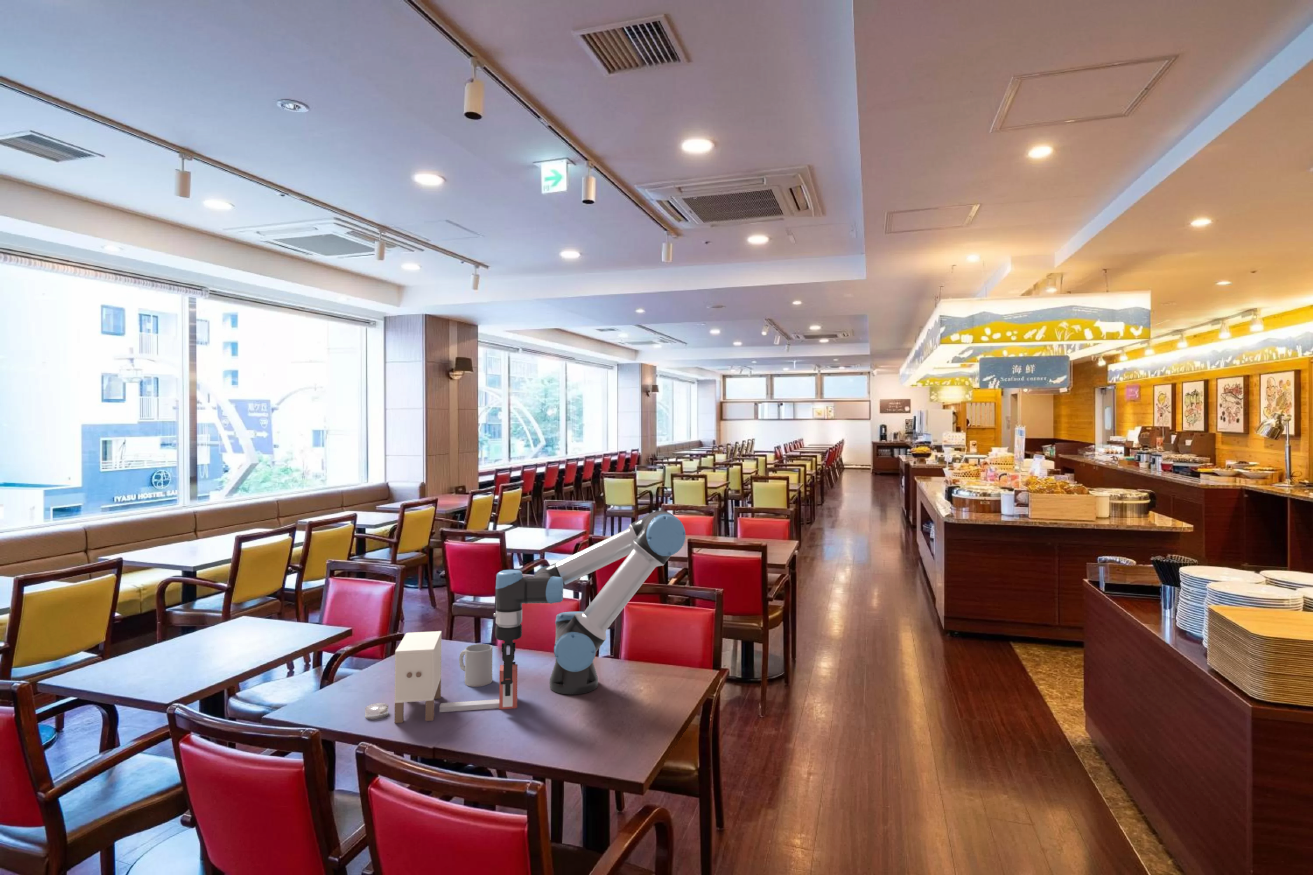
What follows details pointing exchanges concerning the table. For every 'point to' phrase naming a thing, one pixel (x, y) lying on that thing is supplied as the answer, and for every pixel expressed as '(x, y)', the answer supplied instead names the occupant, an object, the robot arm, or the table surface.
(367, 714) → the token
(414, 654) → the cabinet
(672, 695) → the table surface
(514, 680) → the red mallet
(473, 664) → the mug
